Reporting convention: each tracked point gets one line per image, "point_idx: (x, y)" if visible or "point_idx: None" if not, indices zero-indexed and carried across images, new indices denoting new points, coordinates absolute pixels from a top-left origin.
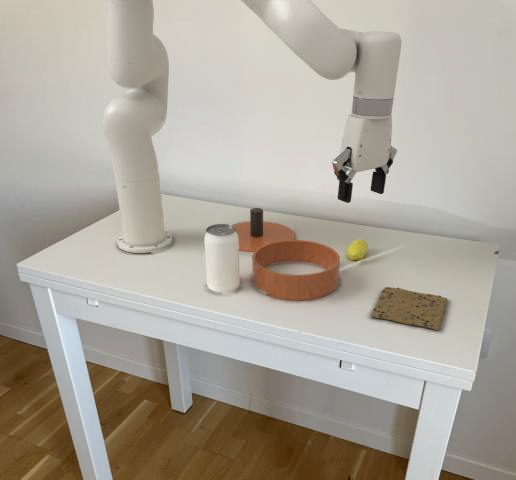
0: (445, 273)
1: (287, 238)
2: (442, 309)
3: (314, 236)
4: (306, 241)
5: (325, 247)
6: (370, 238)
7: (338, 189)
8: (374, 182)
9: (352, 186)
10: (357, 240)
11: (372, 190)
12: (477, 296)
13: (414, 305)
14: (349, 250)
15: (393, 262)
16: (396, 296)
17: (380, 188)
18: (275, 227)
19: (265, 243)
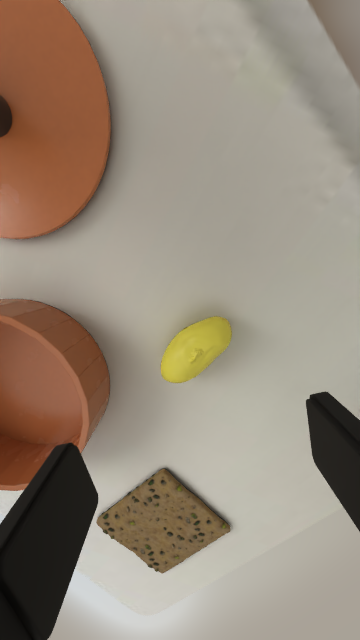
0: (304, 462)
1: (72, 186)
2: (199, 549)
3: (167, 177)
4: (41, 343)
5: (76, 390)
6: (296, 257)
7: (25, 489)
8: (342, 458)
9: (58, 612)
10: (201, 344)
11: (308, 413)
12: (284, 531)
13: (168, 530)
14: (163, 363)
15: (251, 390)
16: (158, 505)
17: (330, 479)
18: (66, 74)
19: (3, 195)
